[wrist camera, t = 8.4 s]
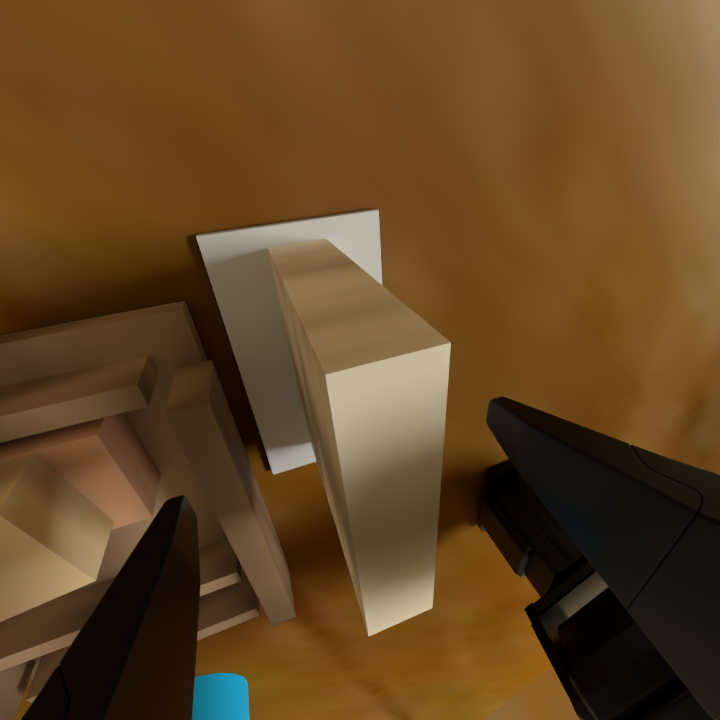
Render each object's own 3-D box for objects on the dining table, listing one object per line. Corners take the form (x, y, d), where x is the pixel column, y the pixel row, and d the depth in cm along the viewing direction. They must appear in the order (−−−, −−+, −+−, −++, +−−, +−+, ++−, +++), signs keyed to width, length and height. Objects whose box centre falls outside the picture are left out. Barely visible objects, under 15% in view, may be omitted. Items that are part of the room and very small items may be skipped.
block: (351, 430, 17) (432, 608, 10) (310, 442, 16) (368, 637, 10) (326, 238, 12) (450, 342, 5) (267, 248, 11) (325, 374, 5)
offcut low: (114, 395, 12) (96, 435, 10) (160, 474, 14) (152, 516, 12) (-153, 458, 10) (-226, 517, 8) (-53, 536, 12) (-96, 595, 10)
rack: (194, 299, 12) (185, 344, 9) (292, 570, 21) (302, 632, 19) (-382, 405, 9) (-673, 525, 6) (38, 667, 18) (5, 759, 15)
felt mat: (375, 208, 12) (378, 210, 12) (387, 434, 18) (389, 438, 18) (196, 234, 11) (196, 236, 11) (272, 470, 17) (273, 474, 16)
